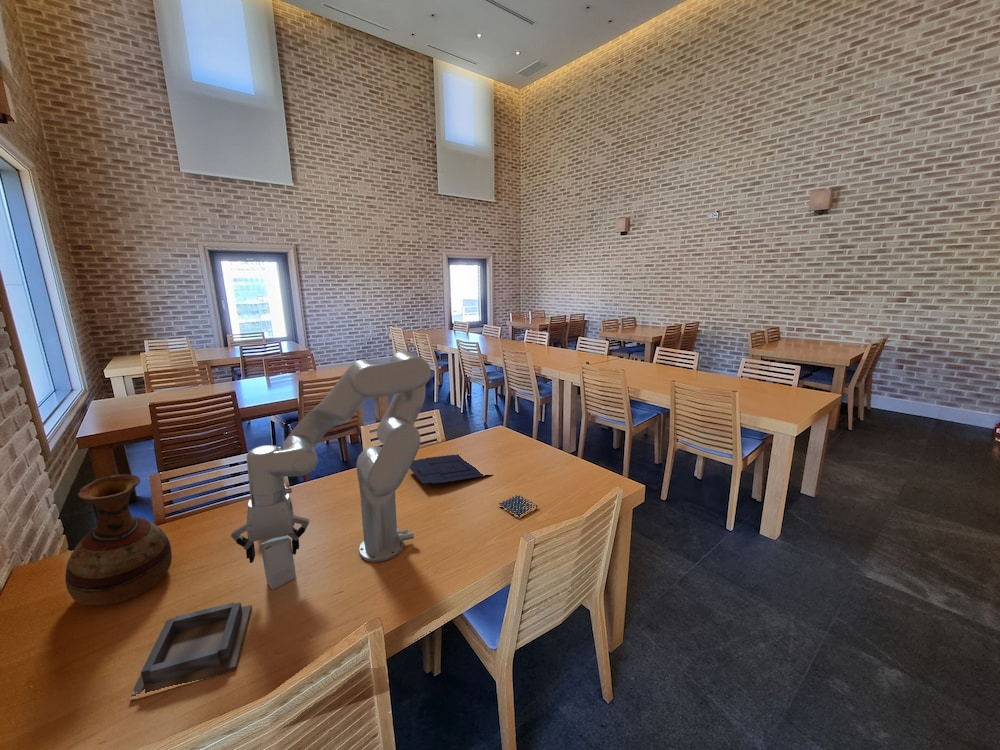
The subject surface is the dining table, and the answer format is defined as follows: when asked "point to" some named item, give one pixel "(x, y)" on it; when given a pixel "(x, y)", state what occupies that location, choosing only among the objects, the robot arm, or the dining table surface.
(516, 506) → the woven mat
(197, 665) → the socket stand
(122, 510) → the painted clay vase
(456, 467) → the navy folded cloth
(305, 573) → the dining table surface
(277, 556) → the skincare box
